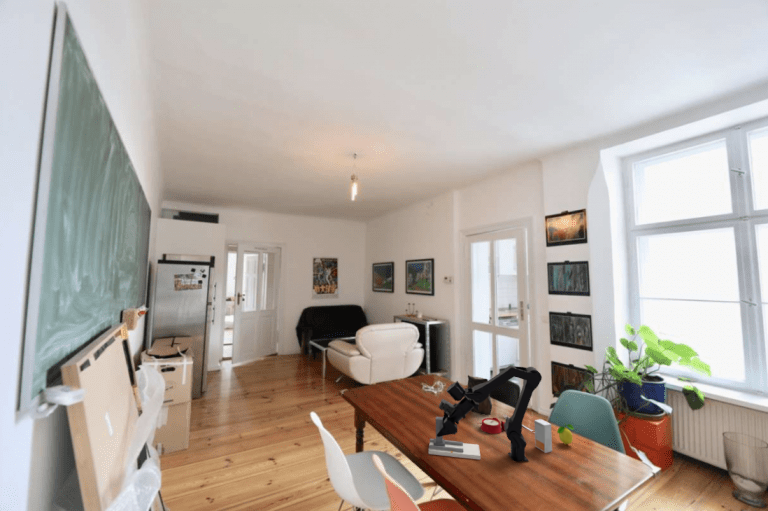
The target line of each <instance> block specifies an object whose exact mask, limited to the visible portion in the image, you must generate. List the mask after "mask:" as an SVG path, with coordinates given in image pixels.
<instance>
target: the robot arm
mask: <svg viewBox="0 0 768 511" xmlns="http://www.w3.org/2000/svg"><path fill="white" fill-rule="evenodd" d="M512 378H518V379H522V382H523V383H522V388H521V391H520V393H519V396H518V399H517V402H516V404H515V407H514V410H513V413H512V415H511V416H508V417H505V421H504V422H505V423H504V429H505V431H504V432H505V435H506V437H507V439H508V441H510V452H507V456H509V458H510V459H511V460H512V461H513V462H529V459H528V458H527V456H526V449H525V448H526V446H527V444H528V443H527V441H526V439H525V437H524V435H523V432H522V431H523V426H522V425H523V421H524V418H525V415H526V412H527V409H528V406H529V404H530V401H531V399H532V396H533V392H534V391H535V390H536V389H537V388H538V387H539V385H540V383H541V382H542V380H543V377H542V374H541V373H540V372H539V370H538V369H537V368H536V367H534V366H528V367H525V366H515V365H509V366H507V367H506V368H505V369H503V370H502V371H500V372H499V373H497V374H495V375H494V376H493V377H491V378H490V379H488V381H487V382H485V383H481V384H478V385H476V386H474V387H473V388H468V387H465V388H464V387H463V386H462V385H461V383H460V382H459V381H458V380H456V381H455V382H453V383H451V384H450V385H449V386H448V387H447V388H446V392H447V394H448V395H449V396H450V397H451V398H452V399H453V400H454V401H457V402H456V403H454V404H452V403H451V402H449V401H447V400H446V399H444V398H441V401H440V403H439V405H438V408H439V409H440V410H441V411H443V416H442V417H443V427H442V428H441V429H440V431H439V432H438V433H437V436H438V437H440V436H443V437H444V436H448V435H454V436H455V435H456V434H457V433H458V425H459V424H460V421H461V420H462V419H466V416H467V415H468V414H469V413H470V412H472V411H471V410H472V409H473V408H475V409H476V410H477V411H479V408H478V407H479V403H481V402H483V401H484V400H485V399H486V398H487V397H488V396H489V395H490V396H491V393H492V392H493V391H495V390H496V389H498V388H499V387H501V386H502V385H503V384H505V383H507V382H508V381H509V380H511V379H512ZM476 402H477V403H476ZM504 429H503V430H504Z"/></svg>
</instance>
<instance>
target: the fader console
mask: <svg viewBox="0 0 768 511" xmlns="http://www.w3.org/2000/svg"><path fill="white" fill-rule="evenodd" d="M434 439H435V438H429V445H428V455H435V456H436V455H437V456H443V457H454V458H461V459H462V458H463V459H470V460H471V459H472V460H479V461H480V460H481V452H480V445H479V444H476V443H475V444H474V443H464V441H455V440H446V439H444V440H445V446H435V445H434Z"/></svg>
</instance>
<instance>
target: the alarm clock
mask: <svg viewBox="0 0 768 511" xmlns="http://www.w3.org/2000/svg"><path fill="white" fill-rule="evenodd" d="M505 422H506V421H503V420H499V418H497V417H492V418H491V417H485V418H482V420H481V422H477V425H478V424H481V425H480V430H481V431H482V432H485V433H487V434H491V435H493V434H494V435H498V434H501V433H502V432H503V431H504V432H505V429H504V423H505Z"/></svg>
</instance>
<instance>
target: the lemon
mask: <svg viewBox="0 0 768 511" xmlns="http://www.w3.org/2000/svg"><path fill="white" fill-rule="evenodd" d="M566 423H567V422H565V423H564V425H563V426H559V427H558V429H557V434H558V437H559V440H560V441H561V442H562V443H563V444H564V445H566V446H567V445H569V444H571V443H573V439H574V438H573V434H572V431H573V430H574V429H575V428H574V426H573V425H572V424H570V423H568V424H566ZM566 426H567V427H566ZM571 430H572V431H571Z"/></svg>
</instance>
